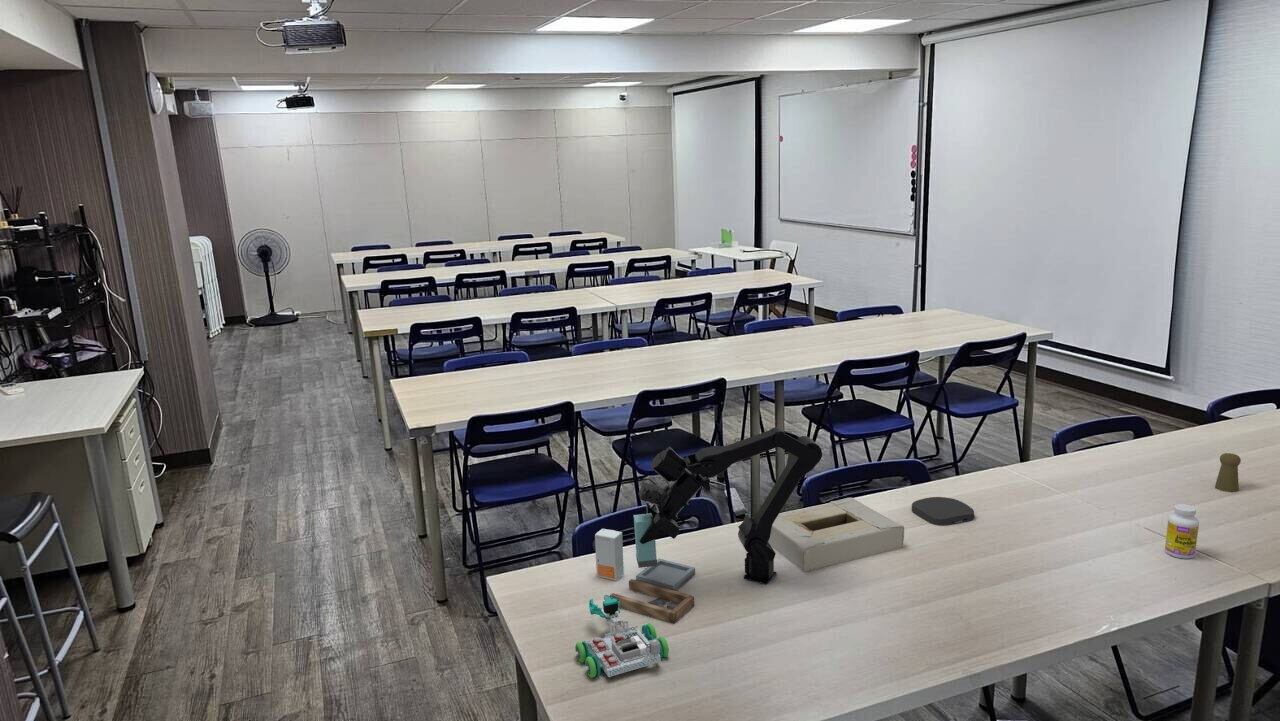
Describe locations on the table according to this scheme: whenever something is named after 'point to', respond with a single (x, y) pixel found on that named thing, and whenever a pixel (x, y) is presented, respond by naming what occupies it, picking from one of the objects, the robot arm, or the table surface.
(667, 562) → the tray
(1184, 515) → the supplement bottle
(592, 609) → the robot kit
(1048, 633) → the table surface
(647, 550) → the tall teal block
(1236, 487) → the cork
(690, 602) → the slot rail
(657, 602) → the set of grey tiles
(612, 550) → the skincare box
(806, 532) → the box
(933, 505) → the media streaming box
